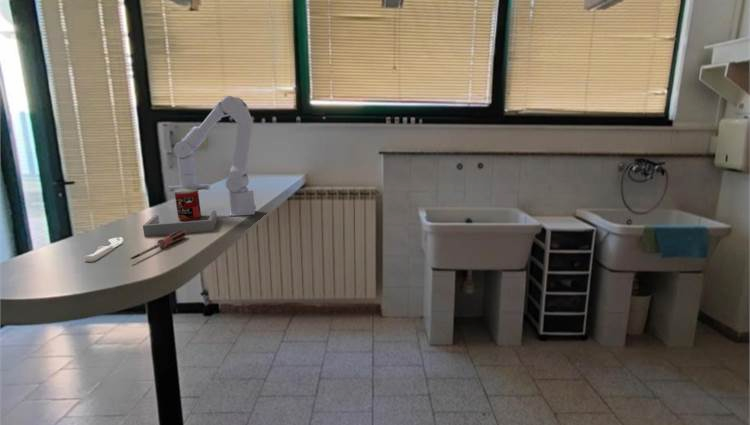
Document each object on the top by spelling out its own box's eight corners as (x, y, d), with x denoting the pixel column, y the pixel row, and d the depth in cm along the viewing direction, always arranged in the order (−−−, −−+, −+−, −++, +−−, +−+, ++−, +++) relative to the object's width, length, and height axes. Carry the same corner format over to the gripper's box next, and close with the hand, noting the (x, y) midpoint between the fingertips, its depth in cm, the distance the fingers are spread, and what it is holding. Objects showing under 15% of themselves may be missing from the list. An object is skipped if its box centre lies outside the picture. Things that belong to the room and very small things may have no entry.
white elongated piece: (115, 231, 134) (141, 230, 135) (116, 236, 135) (141, 234, 136) (61, 258, 105) (94, 255, 106) (62, 264, 105) (95, 261, 107)
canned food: (173, 220, 150) (169, 191, 147) (189, 214, 157) (185, 186, 154) (190, 222, 148) (186, 192, 145) (205, 215, 155) (202, 187, 152)
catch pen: (217, 220, 149) (216, 210, 148) (212, 230, 135) (211, 220, 134) (155, 224, 144) (154, 215, 143) (144, 236, 130) (142, 225, 129)
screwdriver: (136, 264, 104) (134, 253, 103) (125, 264, 104) (123, 253, 104) (189, 237, 128) (188, 228, 127) (180, 237, 128) (179, 228, 128)
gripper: (209, 171, 160) (212, 205, 163) (168, 173, 157) (173, 208, 160) (206, 174, 154) (210, 209, 157) (164, 175, 150) (169, 211, 153)
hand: (191, 208), depth 158 cm, fingers closed, pressing on canned food
